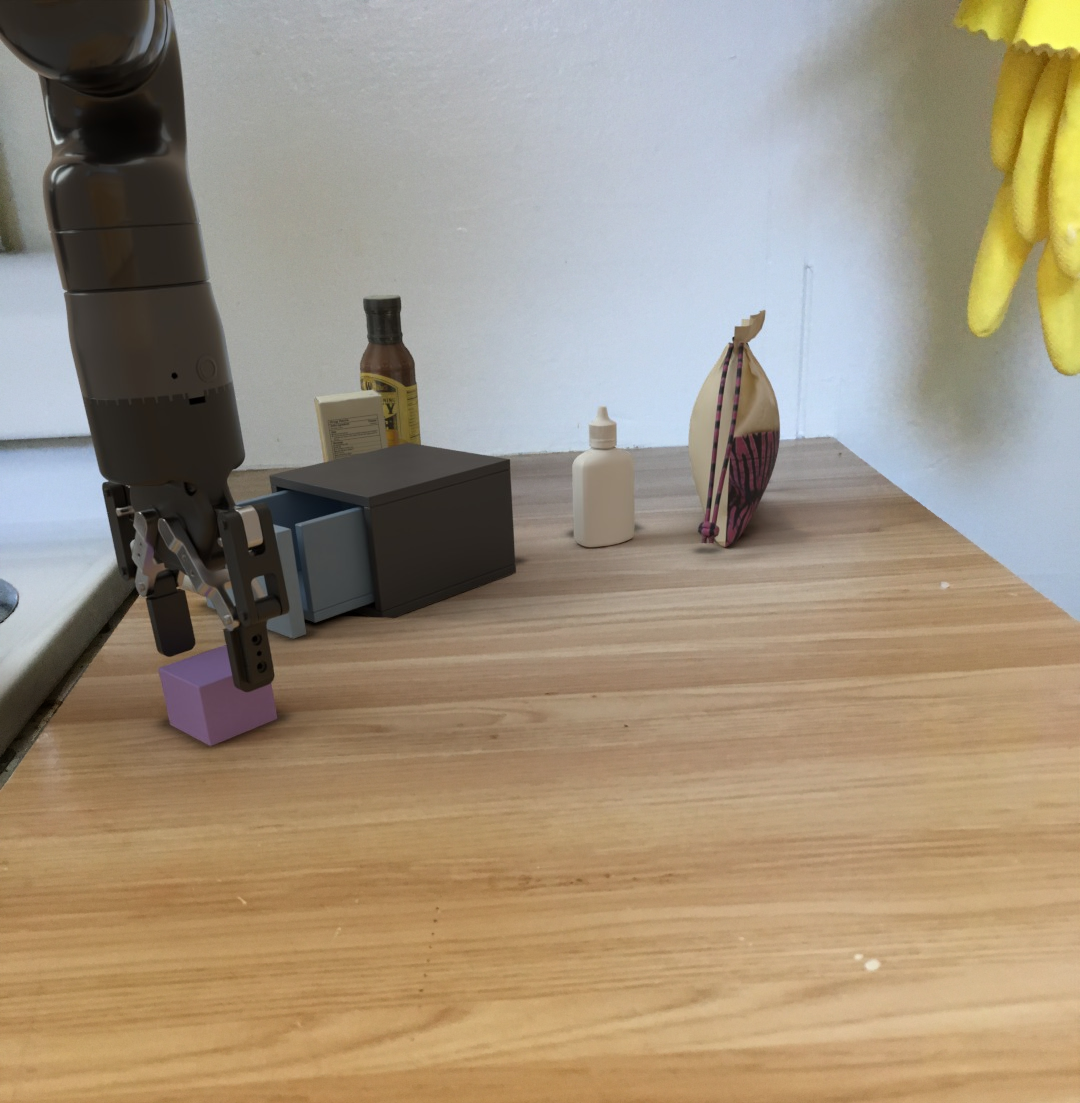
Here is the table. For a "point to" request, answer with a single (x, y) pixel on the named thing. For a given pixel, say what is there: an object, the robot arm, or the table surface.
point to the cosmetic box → (350, 424)
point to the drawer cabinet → (421, 519)
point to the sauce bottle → (390, 369)
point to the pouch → (733, 437)
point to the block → (212, 698)
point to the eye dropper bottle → (603, 488)
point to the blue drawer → (315, 558)
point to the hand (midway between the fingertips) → (215, 668)
